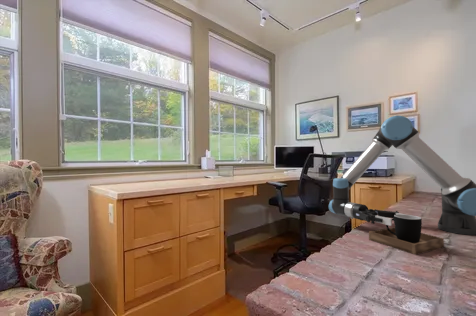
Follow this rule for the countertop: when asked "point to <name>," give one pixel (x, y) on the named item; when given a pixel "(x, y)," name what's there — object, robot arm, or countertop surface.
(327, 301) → the countertop surface
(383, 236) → the walnut tray
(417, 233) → the mug
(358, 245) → the countertop surface
